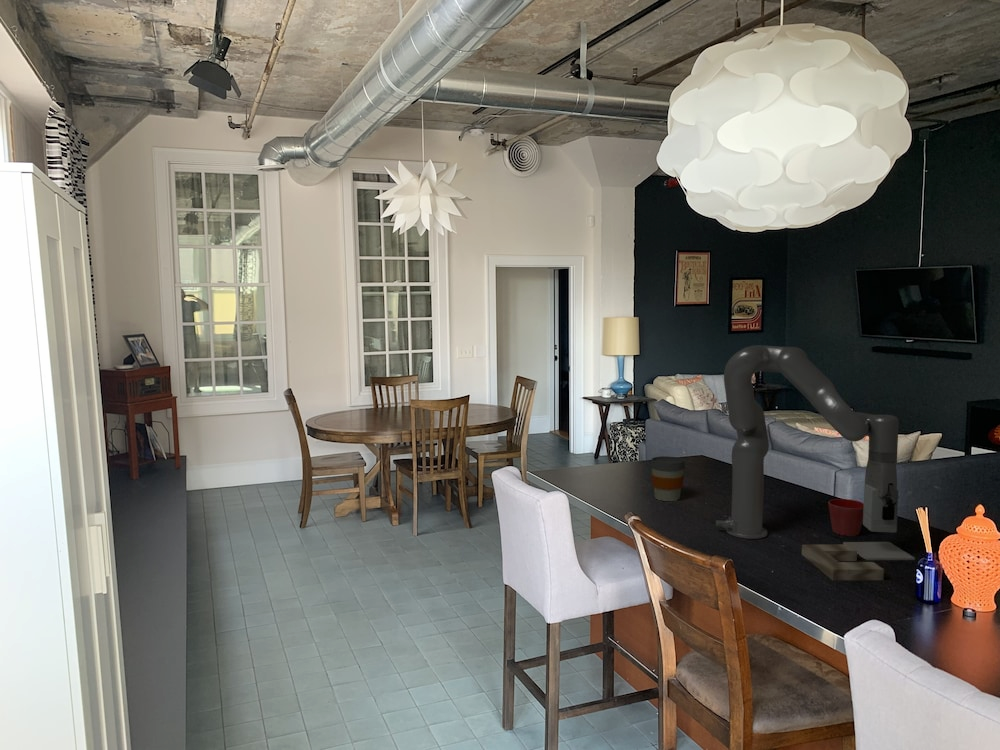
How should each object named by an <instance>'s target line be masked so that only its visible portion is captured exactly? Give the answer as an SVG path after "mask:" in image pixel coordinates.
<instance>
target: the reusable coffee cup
mask: <svg viewBox="0 0 1000 750" xmlns="http://www.w3.org/2000/svg"><path fill="white" fill-rule="evenodd" d="M650 460H651V461H650V468H651V483H652V484H651V485H652V487H653V491H654V492H653V493H654V499H655V498H656V499H658V500H663V501H676V500H678V499H679V500H680V497H681V492H682V490H681V489H682V488H683V487H684V486H683V484H684V479H685V478H684V477H685V474H684V472H685V469H686V465H685V459H684V458H681V457H677V456H676V457H675V456H666V455H665V456H663V455H662V456H656V457H652V458H651V459H650ZM656 499H655V500H656ZM658 500H657V501H658ZM676 502H677V501H676Z"/></svg>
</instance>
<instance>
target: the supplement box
mask: <svg viewBox="0 0 1000 750" xmlns="http://www.w3.org/2000/svg"><path fill="white" fill-rule="evenodd" d="M863 487H864V488H863V503H864V508H863V521H862V525H863V526H864V527H865V528H866V529H867V530H868V531H870V532H874V533H894V534H895V533H897V531H898V514H899V513H898V511H899V509H898V508H899V499H898V500H897V503H896V506H895V509H894V520H883V519H882V509H883V506H884V503H883V497H882V498H879V497H878V496H877V494H878V490H877V489H875V488H873V487H870V486H868V485H866V484H865V483H864V484H863ZM897 494H898V495H899V489H897ZM885 496H891V494H890V492H889V490H888V491H887V493H886V495H885ZM886 499H887V502H888V500H889V499H891V498H886Z"/></svg>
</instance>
